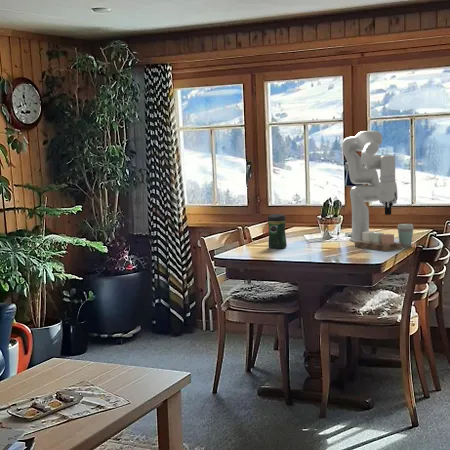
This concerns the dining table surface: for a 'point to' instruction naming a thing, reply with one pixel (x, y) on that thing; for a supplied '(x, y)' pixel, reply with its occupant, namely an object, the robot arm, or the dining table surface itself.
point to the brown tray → (378, 246)
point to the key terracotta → (388, 239)
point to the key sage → (377, 237)
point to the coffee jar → (277, 231)
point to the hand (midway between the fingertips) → (388, 214)
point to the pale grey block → (367, 236)
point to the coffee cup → (405, 234)
